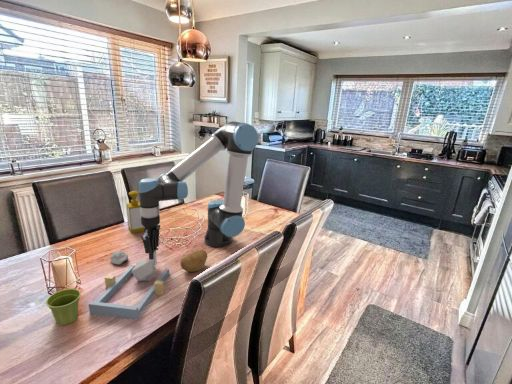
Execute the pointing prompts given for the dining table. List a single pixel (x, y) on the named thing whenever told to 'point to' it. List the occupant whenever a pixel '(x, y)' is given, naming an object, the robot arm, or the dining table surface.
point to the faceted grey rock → (144, 270)
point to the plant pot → (64, 305)
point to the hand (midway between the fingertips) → (153, 264)
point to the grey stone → (118, 257)
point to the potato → (194, 261)
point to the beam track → (124, 310)
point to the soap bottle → (134, 214)
